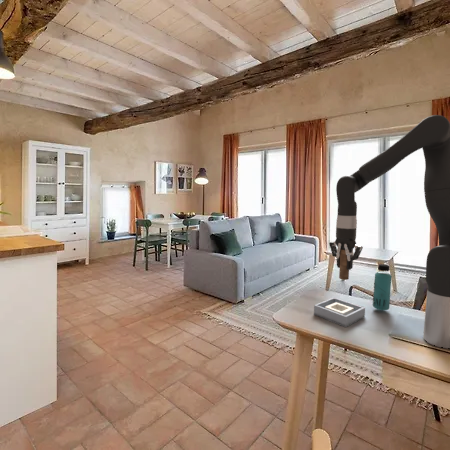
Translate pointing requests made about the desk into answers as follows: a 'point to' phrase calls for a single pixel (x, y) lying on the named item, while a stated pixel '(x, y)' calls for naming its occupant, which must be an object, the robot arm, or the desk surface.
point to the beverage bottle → (382, 288)
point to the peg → (343, 266)
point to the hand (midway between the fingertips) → (344, 268)
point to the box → (339, 311)
